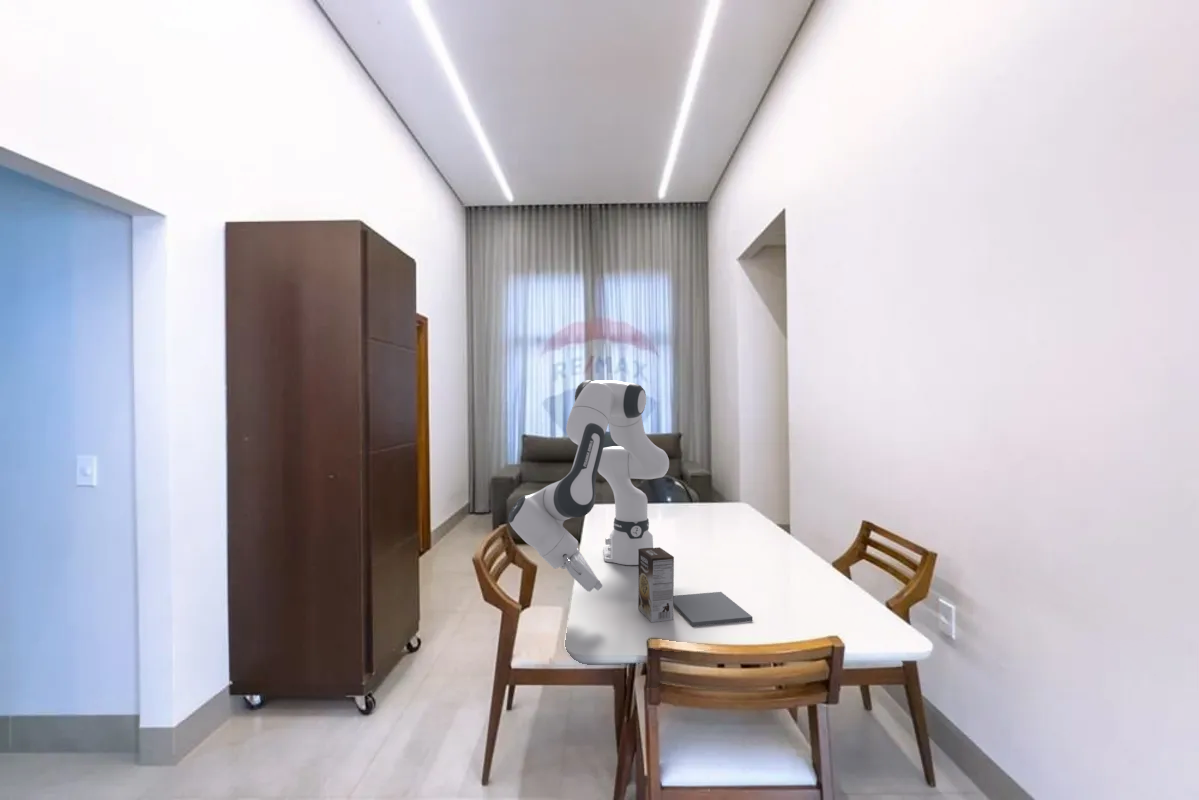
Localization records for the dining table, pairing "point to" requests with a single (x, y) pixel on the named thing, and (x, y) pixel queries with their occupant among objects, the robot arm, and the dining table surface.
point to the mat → (709, 609)
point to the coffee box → (656, 584)
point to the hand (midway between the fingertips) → (599, 586)
